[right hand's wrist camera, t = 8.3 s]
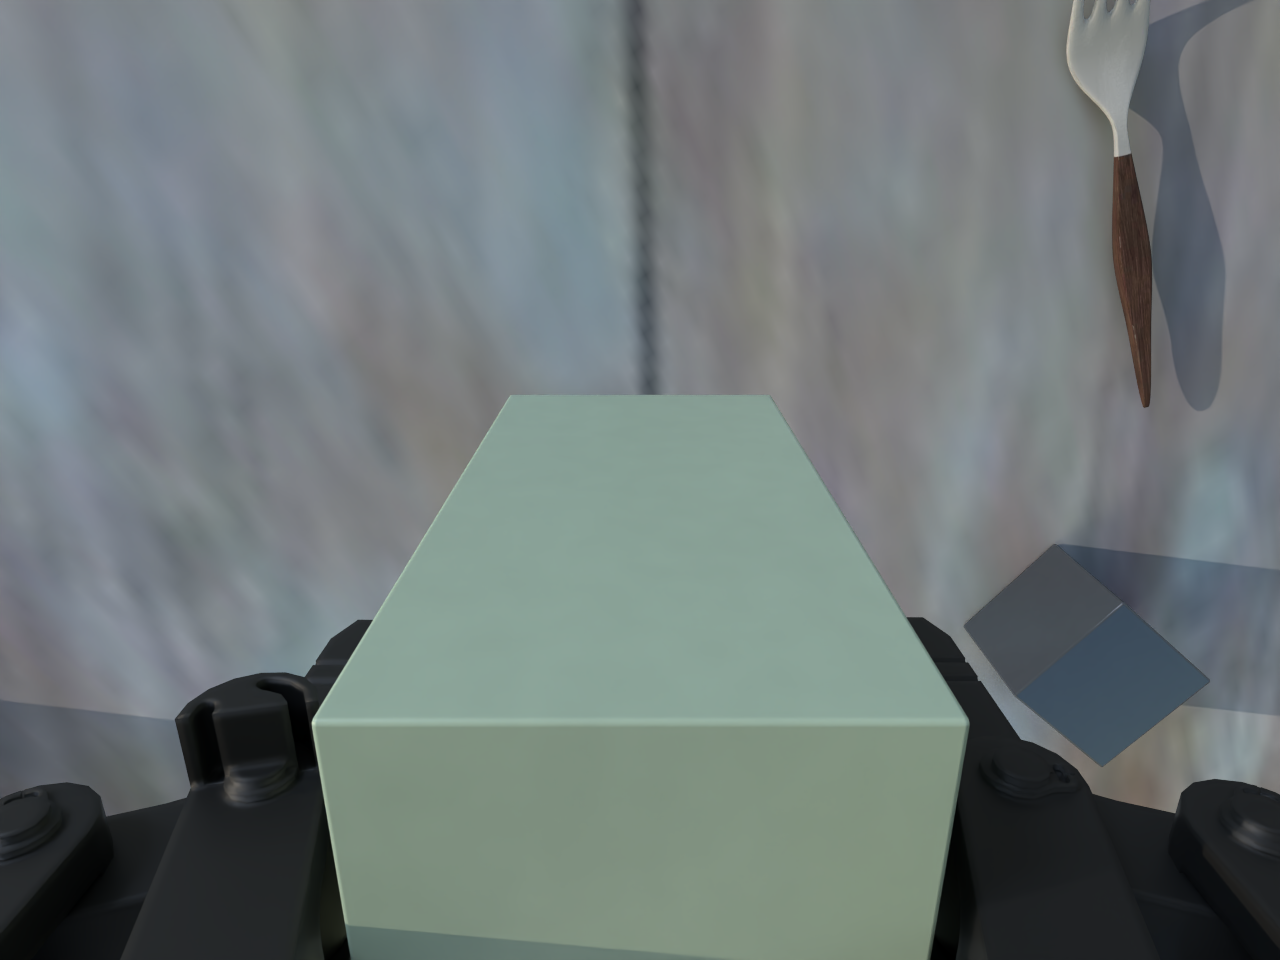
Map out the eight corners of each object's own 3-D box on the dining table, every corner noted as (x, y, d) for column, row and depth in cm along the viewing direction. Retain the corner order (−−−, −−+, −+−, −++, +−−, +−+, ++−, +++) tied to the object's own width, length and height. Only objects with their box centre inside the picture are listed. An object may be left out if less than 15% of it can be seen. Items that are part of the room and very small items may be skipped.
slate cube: (1054, 542, 33) (1123, 602, 28) (1132, 612, 34) (1212, 681, 29) (962, 625, 34) (1014, 696, 29) (1040, 690, 35) (1102, 768, 30)
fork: (1102, 413, 31) (1133, 428, 29) (1052, -56, 25) (1084, -75, 24) (1173, 394, 30) (1208, 407, 29) (1136, -84, 25) (1176, -106, 23)
